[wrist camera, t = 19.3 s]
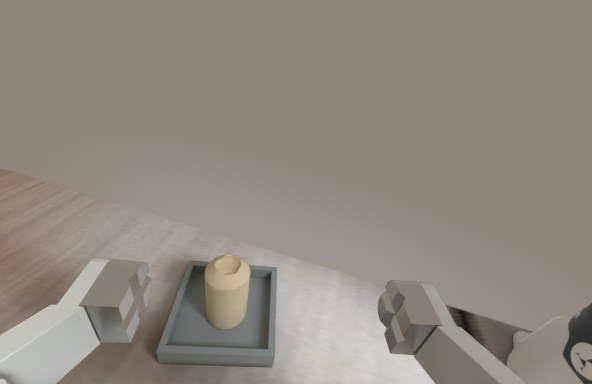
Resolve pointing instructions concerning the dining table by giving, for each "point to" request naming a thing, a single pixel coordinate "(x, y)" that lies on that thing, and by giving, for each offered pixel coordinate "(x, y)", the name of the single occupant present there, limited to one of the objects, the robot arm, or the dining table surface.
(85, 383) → the dining table surface
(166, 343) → the serving tray
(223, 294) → the candle
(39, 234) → the dining table surface
